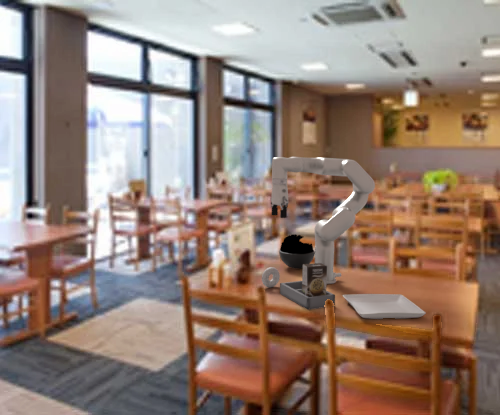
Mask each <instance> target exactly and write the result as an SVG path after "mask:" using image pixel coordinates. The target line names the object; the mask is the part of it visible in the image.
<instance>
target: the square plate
mask: <svg viewBox="0 0 500 415" xmlns="http://www.w3.org/2000/svg"><path fill="white" fill-rule="evenodd" d="M342 297H343V298H344V299H345V300H346V301H347V302H348V304H349V305H350V306H352V307H353V309H354V310H355V312H356V313H357V314H358V315H359V316H360V317H362V318H363V319H370V320H373V319H375V320H376V319H377V320H382V319H383V318H395V319H411V318H412V319H413V318H416V319H417V318H420V317H421V318H422V317H423V316H424V315H426V313H427V312H426V311H424V310H423V309H422V308H421V307H420V306H418V305H416V304H415V303H414V302H413V301H411V300H410V299H408V298H407V297H406V296H405V295H403V294H394V293H393V294H392V293H391V294H389V293H358V294H357V293H355V294H342ZM383 320H384V319H383Z"/></svg>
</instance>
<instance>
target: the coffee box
mask: <svg viewBox="0 0 500 415" xmlns="http://www.w3.org/2000/svg"><path fill="white" fill-rule="evenodd" d="M301 276H302V277H301V281H302V294H304V295H306V296H308V297H314V296H322V295H326V291H327V284H326V282H327V266H326V265H324V264H322V263H315V262H314V263H310V264H303V268H302V275H301Z"/></svg>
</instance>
